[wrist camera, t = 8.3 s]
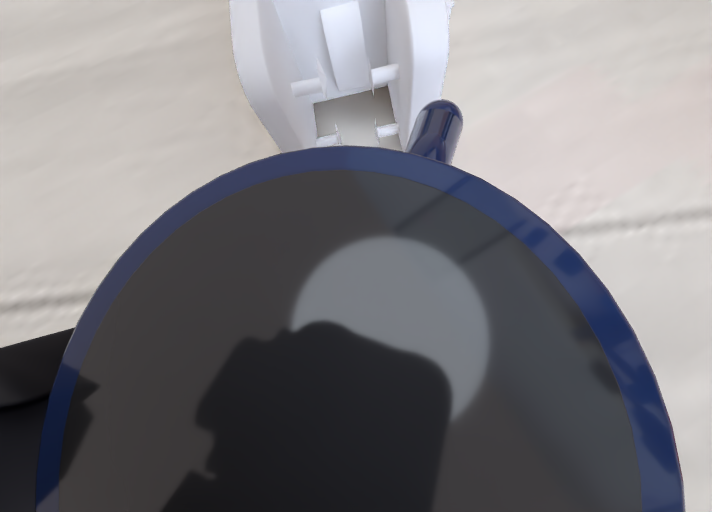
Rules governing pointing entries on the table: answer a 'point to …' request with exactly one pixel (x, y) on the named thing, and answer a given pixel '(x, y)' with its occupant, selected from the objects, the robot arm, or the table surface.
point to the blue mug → (355, 353)
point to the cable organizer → (337, 60)
